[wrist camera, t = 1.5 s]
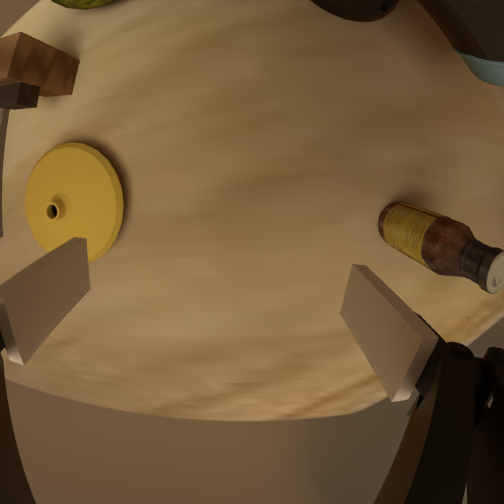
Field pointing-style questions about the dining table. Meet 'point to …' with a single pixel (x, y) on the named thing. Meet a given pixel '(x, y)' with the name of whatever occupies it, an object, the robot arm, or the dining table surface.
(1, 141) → the brown blocky pieces
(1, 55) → the brown tall block
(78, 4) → the lettuce
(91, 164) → the yellow curved piece
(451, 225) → the sauce bottle
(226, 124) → the dining table surface
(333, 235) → the dining table surface
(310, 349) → the dining table surface
